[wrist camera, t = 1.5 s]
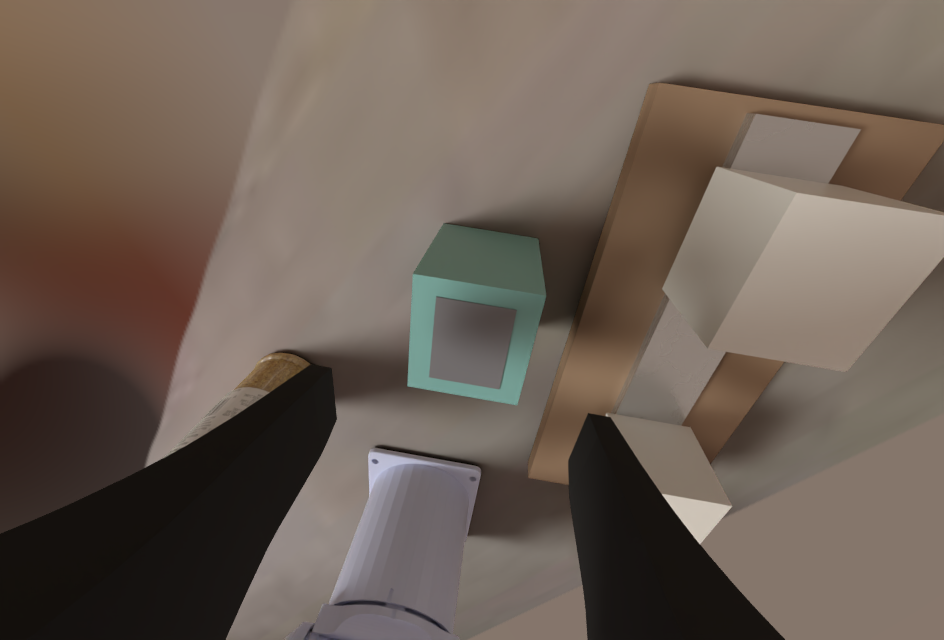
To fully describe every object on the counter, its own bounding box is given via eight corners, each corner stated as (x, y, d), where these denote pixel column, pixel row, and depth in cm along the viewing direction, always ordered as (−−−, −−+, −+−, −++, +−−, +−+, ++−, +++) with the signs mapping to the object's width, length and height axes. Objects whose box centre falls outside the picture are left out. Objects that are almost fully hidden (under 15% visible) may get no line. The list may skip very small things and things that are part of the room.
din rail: (633, 491, 24) (636, 500, 23) (579, 481, 24) (580, 490, 23) (847, 128, 13) (861, 129, 12) (746, 113, 13) (755, 113, 12)
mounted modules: (654, 484, 22) (682, 564, 18) (580, 471, 22) (593, 548, 19) (842, 185, 13) (974, 220, 9) (716, 166, 13) (796, 192, 10)
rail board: (674, 488, 25) (680, 505, 24) (527, 462, 25) (528, 477, 24) (920, 124, 14) (954, 126, 12) (649, 84, 14) (659, 82, 13)
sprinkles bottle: (293, 412, 25) (104, 672, 14) (243, 364, 23) (-22, 617, 12) (342, 391, 24) (176, 664, 12) (293, 337, 22) (45, 599, 10)
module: (517, 327, 20) (517, 406, 15) (435, 313, 20) (407, 387, 15) (538, 238, 17) (546, 296, 12) (444, 223, 17) (412, 274, 12)
